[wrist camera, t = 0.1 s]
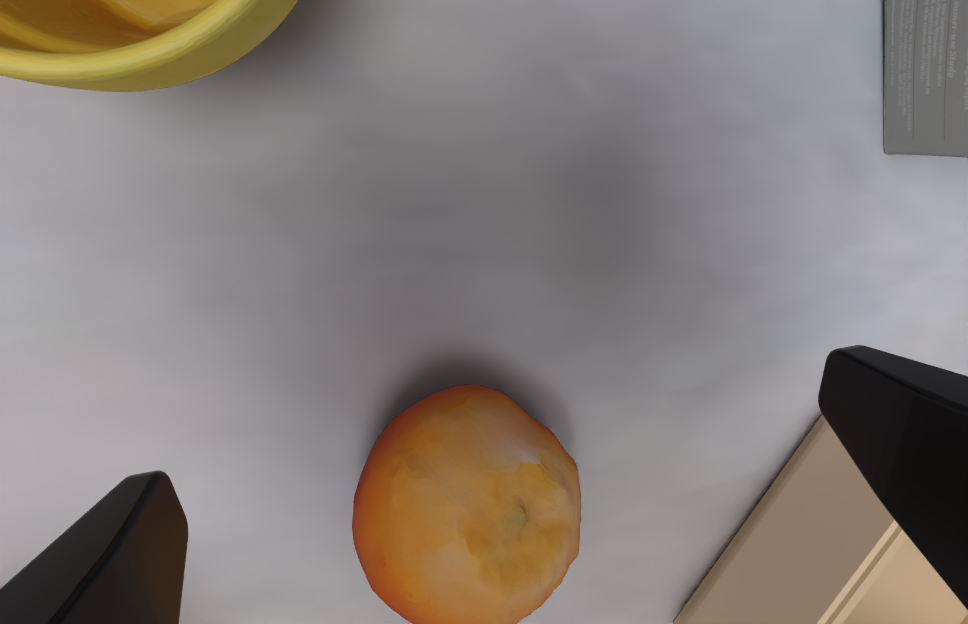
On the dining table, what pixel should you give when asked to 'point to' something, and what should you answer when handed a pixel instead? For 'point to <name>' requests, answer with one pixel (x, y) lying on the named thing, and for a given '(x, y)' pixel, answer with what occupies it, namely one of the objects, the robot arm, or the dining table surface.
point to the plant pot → (130, 40)
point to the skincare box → (926, 77)
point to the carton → (822, 554)
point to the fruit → (466, 510)
